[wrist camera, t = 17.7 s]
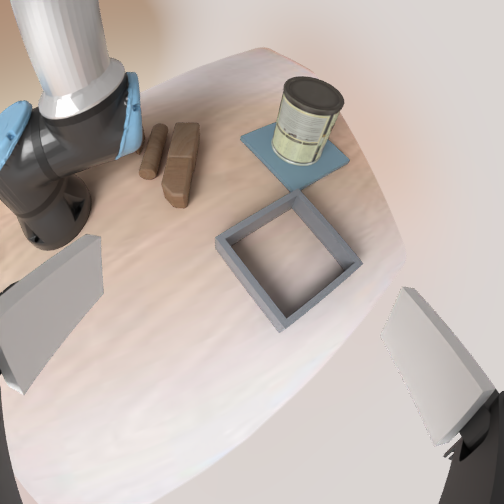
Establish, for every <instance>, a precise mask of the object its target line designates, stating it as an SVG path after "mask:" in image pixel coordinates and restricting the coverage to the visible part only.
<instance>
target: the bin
mask: <svg viewBox="0 0 504 504" xmlns="http://www.w3.org/2000/svg"><path fill="white" fill-rule="evenodd" d="M291 208H292V209H293V210H294V211H295V212H296V213H297V214H298V216H299V217H300V218H301V219H302V220H303V221H304V222H305V224H306V225H307V226H308V227H309V228H310V229H311V231H312V232H313V233H314V234H315V235H316V237H317V238H318V239H319V240H320V241H321V242H322V244H323V245H324V246H325V247H326V248H327V250H328V251H329V252H330V253H331V254H332V256H333V257H334V258H335V259H336V260H337V262H338V263H339V264H340V265H341V267H342V268H343V269H344V270H345V271H344V272H343V273H342V274H341V275H340V276H339V277H337V278H336V279H335V280H334V281H333V282H331V283H330V284H329V285H328V286H327V287H325V288H324V289H323V290H322V291H321V292H319V293H318V294H317V295H316V296H314V297H313V298H312V299H311V300H309V301H308V302H307V303H306V304H304V305H303V306H302V307H301V308H299V309H298V310H297V311H296V312H294V313H293V314H292V315H290V316H289V317H288V318H287V319H286V317H285V316H284V315H283V314H282V312H281V311H280V310H279V308H278V307H277V306H276V305H275V303H274V302H273V301H272V299H271V298H270V297H269V296H268V294H267V293H266V292H265V290H264V289H263V288H262V287H261V285H260V284H259V283H258V281H257V280H256V279H255V277H254V276H253V275H252V274H251V272H250V271H249V270H248V268H247V267H246V266H245V264H244V263H243V262H242V261H241V259H240V258H239V257H238V255H237V254H236V253H235V251H234V250H233V249H232V247H231V246H232V245H233V244H235V243H236V242H238V241H240V240H241V239H243V238H244V237H246V236H248V235H249V234H251V233H252V232H254V231H256V230H257V229H259V228H260V227H262V226H264V225H265V224H267V223H268V222H270V221H272V220H273V219H275V218H277V217H278V216H280V215H281V214H283V213H285V212H286V211H288V210H290V209H291ZM215 249H216V250H217V251H218V253H219V254H220V255H221V257H222V258H223V260H224V261H225V262H226V264H227V265H228V266H229V268H230V269H231V270H232V272H233V273H234V274H235V276H236V277H237V278H238V280H239V281H240V282H241V284H242V285H243V286H244V288H245V289H246V290H247V292H248V293H249V294H250V296H251V297H252V298H253V299H254V301H255V302H256V303H257V305H258V306H259V307H260V309H261V310H262V311H263V313H264V314H265V315H266V316H267V318H268V319H269V320H270V322H271V323H272V324H273V325H274V327H275V328H276V329H277V331H278V332H279V333H280V332H281V331H283V330H285V329H286V328H287V327H289V326H290V325H291V324H293V323H294V322H295V321H296V320H298V319H299V318H300V317H301V316H303V315H304V314H305V313H306V312H308V311H309V310H310V309H311V308H312V307H314V306H315V305H316V304H317V303H319V302H320V301H321V300H322V299H323V298H325V297H326V296H327V295H328V294H329V293H330V292H332V291H333V290H334V289H335V288H336V287H337V286H339V285H340V284H341V283H342V282H343V281H344V280H346V279H347V278H348V277H349V276H350V275H351V274H352V273H353V272H355V271H356V270H357V269H358V268H359V267H360V266H361V265H362V264H363V263H362V261H361V260H360V259H359V258H358V256H357V255H356V254H355V253H354V252H353V250H352V249H351V248H350V247H349V246H348V244H347V243H346V242H345V241H344V240H343V238H342V237H341V236H340V235H339V234H338V233H337V231H336V230H335V229H334V228H333V227H332V226H331V224H330V223H329V222H328V221H327V220H326V219H325V218H324V216H323V215H322V214H321V213H320V212H319V211H318V210H317V209H316V207H315V206H314V205H313V204H312V203H311V202H310V201H309V200H308V199H307V197H306V196H305V195H304V194H303V193H302V192H301V191H300V190H299V189H296V190H294V191H292V192H291V193H289V194H287V195H285V196H284V197H282V198H280V199H278V200H277V201H275V202H273V203H272V204H270V205H268V206H267V207H265V208H263V209H261V210H260V211H258V212H256V213H255V214H253V215H251V216H250V217H248V218H246V219H245V220H243V221H241V222H240V223H238V224H236V225H235V226H233V227H231V228H230V229H228V230H226V231H225V232H223V233H221V234H220V235H218V236H216V237H215Z"/></svg>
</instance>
